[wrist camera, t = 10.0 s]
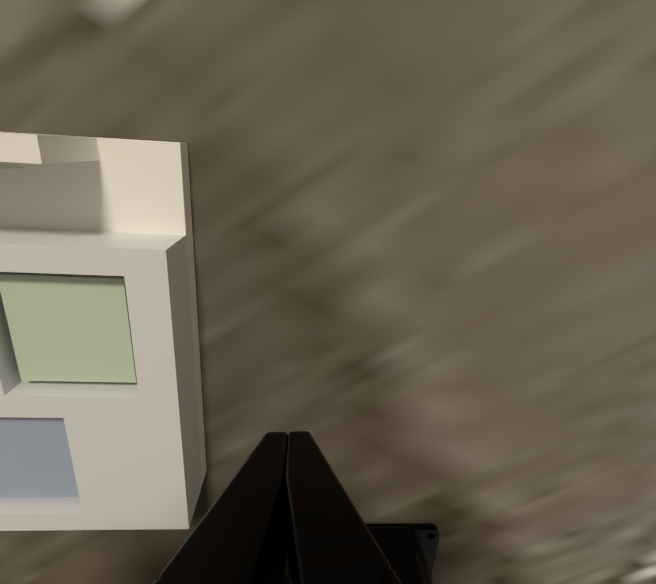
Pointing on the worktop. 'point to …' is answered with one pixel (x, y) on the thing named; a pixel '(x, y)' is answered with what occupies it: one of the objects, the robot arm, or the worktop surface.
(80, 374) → the key sage
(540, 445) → the worktop surface
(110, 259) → the keypad
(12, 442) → the key slate
